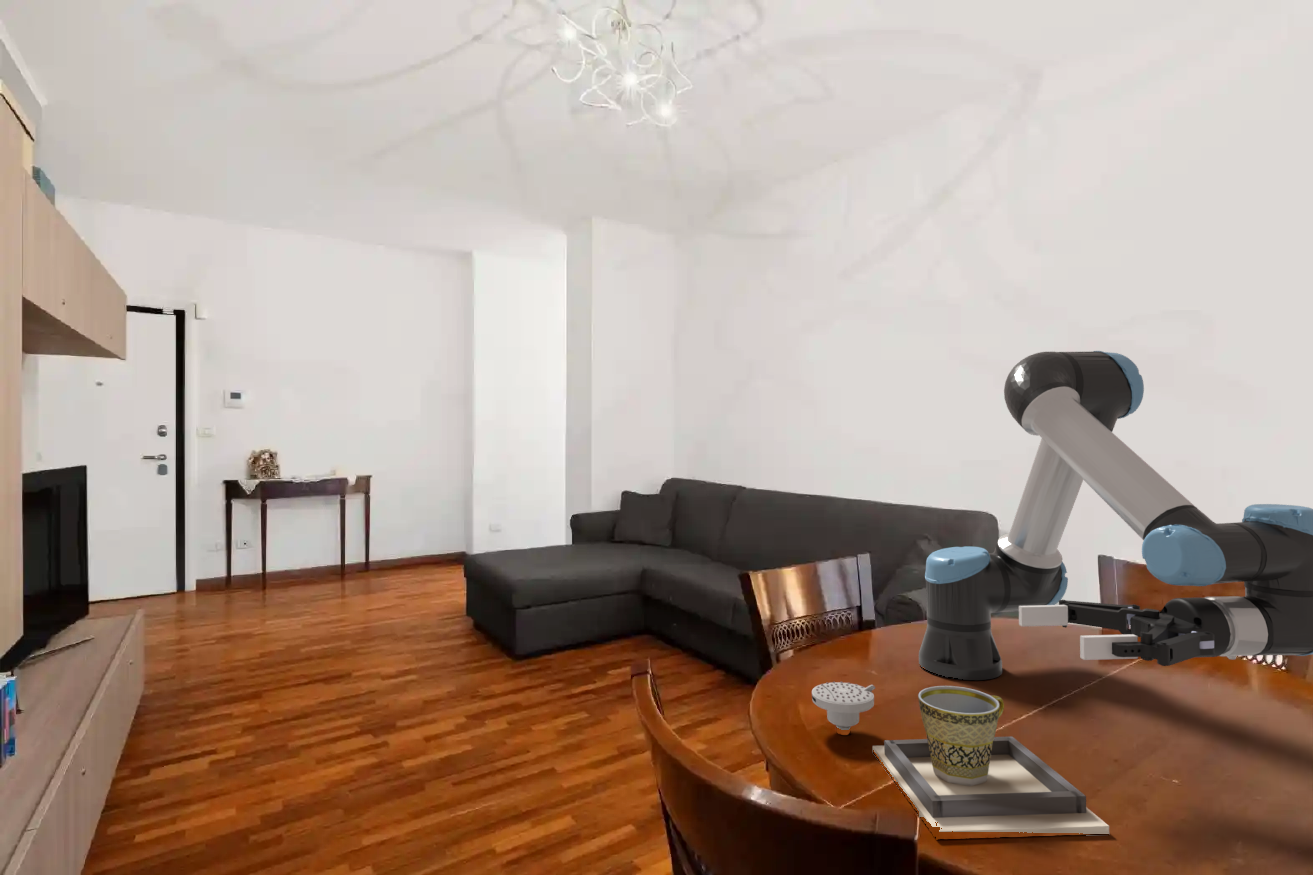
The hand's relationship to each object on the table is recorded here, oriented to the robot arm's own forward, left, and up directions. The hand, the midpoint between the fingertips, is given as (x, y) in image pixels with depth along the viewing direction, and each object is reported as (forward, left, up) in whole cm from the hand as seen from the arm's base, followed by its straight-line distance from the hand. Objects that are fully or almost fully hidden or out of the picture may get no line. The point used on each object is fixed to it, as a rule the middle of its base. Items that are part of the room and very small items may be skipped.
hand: (1048, 630), depth 89 cm
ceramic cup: (-3, -10, -20) cm, 22 cm away
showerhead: (-19, -22, -21) cm, 35 cm away
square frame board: (-1, -10, -21) cm, 23 cm away
